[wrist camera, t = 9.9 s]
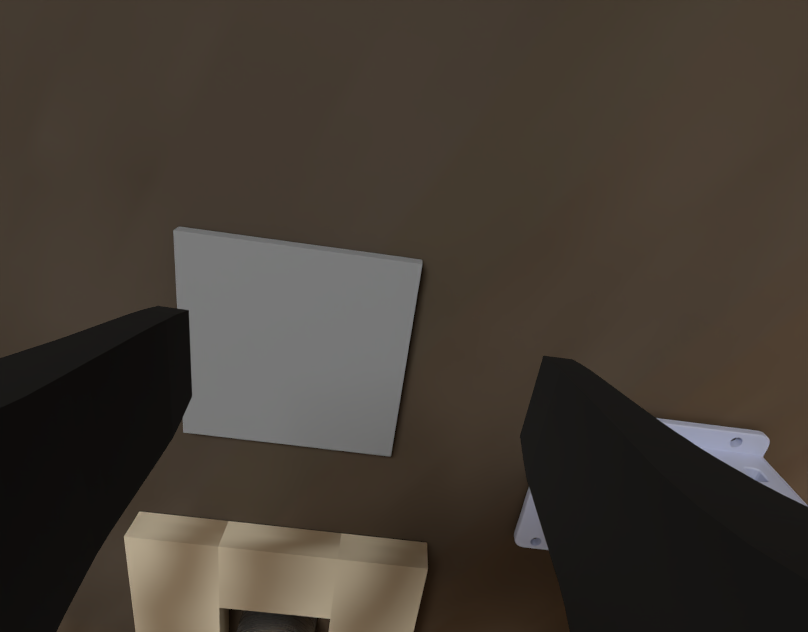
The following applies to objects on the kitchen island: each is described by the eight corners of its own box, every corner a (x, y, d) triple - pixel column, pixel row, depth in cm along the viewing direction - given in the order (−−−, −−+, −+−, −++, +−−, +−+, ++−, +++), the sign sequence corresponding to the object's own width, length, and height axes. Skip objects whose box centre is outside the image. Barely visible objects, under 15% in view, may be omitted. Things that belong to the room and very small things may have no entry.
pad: (422, 259, 19) (422, 264, 19) (391, 449, 23) (391, 456, 23) (178, 226, 19) (173, 230, 18) (188, 425, 23) (183, 432, 22)
